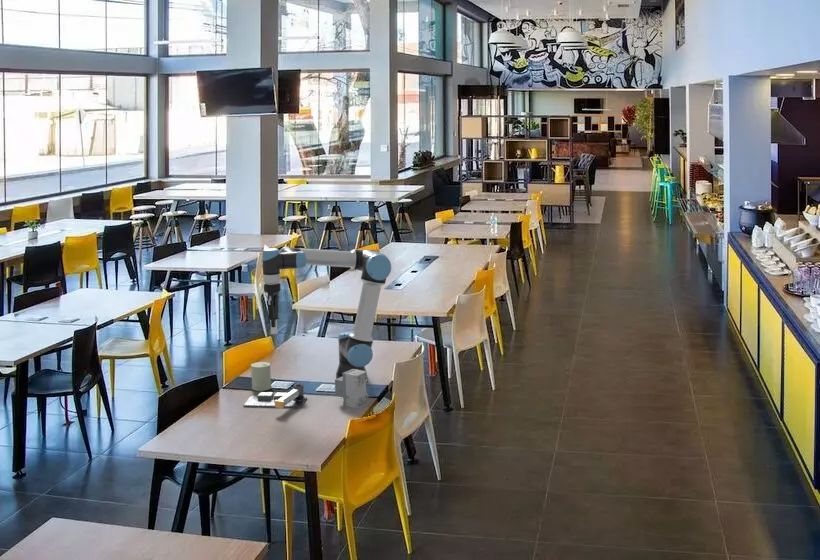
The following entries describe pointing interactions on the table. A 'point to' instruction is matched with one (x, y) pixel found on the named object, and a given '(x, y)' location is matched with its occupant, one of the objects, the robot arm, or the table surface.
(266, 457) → the table surface
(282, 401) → the swing arm
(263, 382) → the can
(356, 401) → the circuit breaker
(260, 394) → the tray
